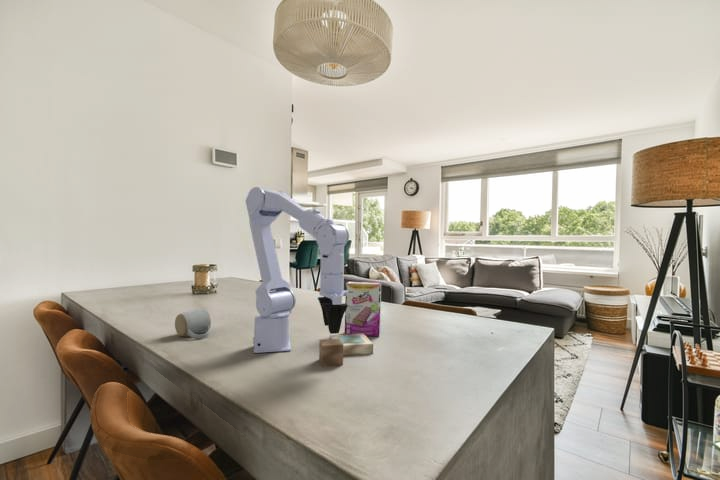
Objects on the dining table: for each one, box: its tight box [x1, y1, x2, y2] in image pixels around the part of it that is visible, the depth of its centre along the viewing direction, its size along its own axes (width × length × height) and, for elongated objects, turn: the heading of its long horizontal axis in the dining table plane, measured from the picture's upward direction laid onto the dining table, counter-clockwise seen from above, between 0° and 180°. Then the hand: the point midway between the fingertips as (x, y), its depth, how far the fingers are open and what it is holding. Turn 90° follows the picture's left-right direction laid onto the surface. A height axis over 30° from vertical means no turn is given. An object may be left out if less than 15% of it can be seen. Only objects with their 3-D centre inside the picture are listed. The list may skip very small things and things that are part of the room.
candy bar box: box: [344, 281, 382, 338], centre depth 107 cm, size 11×5×16 cm, turn 84°
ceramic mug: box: [174, 307, 212, 340], centre depth 103 cm, size 11×8×8 cm
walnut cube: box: [318, 338, 344, 368], centre depth 83 cm, size 5×5×5 cm
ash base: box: [329, 334, 374, 356], centre depth 93 cm, size 10×10×3 cm
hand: (331, 329), depth 82 cm, fingers open, 7 cm apart
